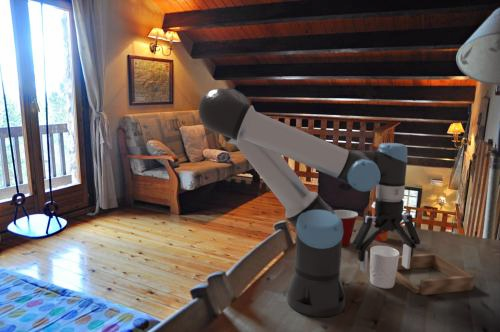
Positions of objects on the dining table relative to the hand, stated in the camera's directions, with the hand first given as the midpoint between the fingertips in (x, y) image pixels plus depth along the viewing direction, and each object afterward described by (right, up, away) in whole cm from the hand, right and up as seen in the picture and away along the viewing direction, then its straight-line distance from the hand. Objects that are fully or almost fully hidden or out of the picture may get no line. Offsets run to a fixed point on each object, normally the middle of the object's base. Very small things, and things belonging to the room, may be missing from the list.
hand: (384, 269), depth 109 cm
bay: (+14, -4, +4) cm, 15 cm away
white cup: (0, -4, +1) cm, 5 cm away
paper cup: (+11, +2, +35) cm, 37 cm away
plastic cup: (-6, +1, +30) cm, 31 cm away
